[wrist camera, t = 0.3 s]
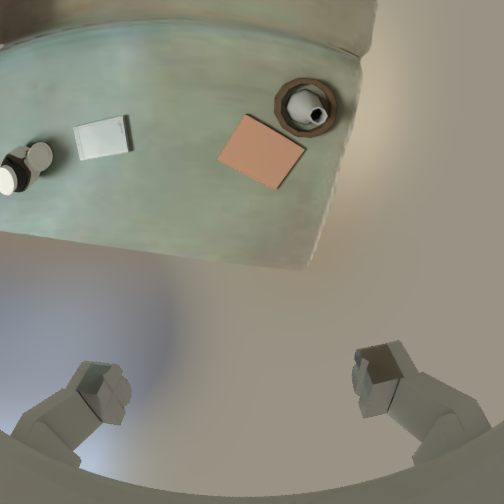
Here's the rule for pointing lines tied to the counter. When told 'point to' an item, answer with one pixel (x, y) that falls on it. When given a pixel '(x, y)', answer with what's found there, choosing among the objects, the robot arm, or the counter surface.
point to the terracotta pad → (260, 152)
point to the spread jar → (23, 167)
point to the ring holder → (317, 130)
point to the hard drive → (102, 138)
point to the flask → (306, 108)
